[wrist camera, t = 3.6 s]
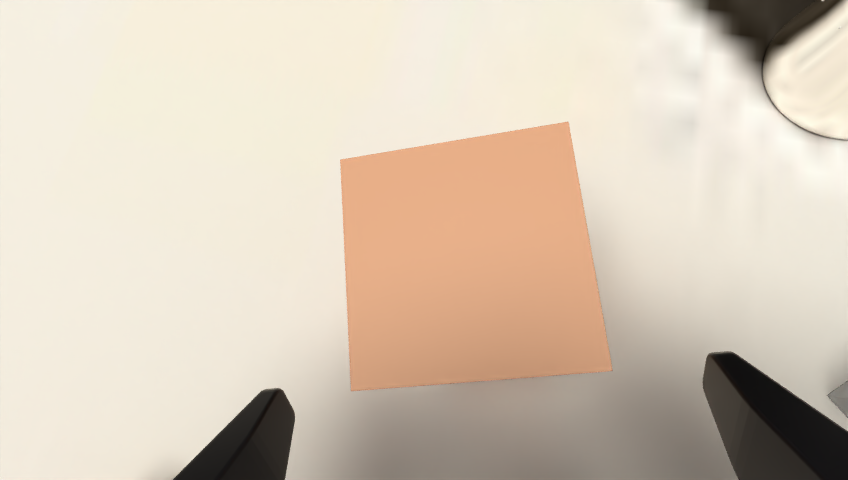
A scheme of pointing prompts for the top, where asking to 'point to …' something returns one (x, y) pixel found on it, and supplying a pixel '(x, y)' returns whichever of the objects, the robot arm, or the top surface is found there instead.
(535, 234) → the terracotta block
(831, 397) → the slate cube
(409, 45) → the top surface
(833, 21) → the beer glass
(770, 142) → the top surface
